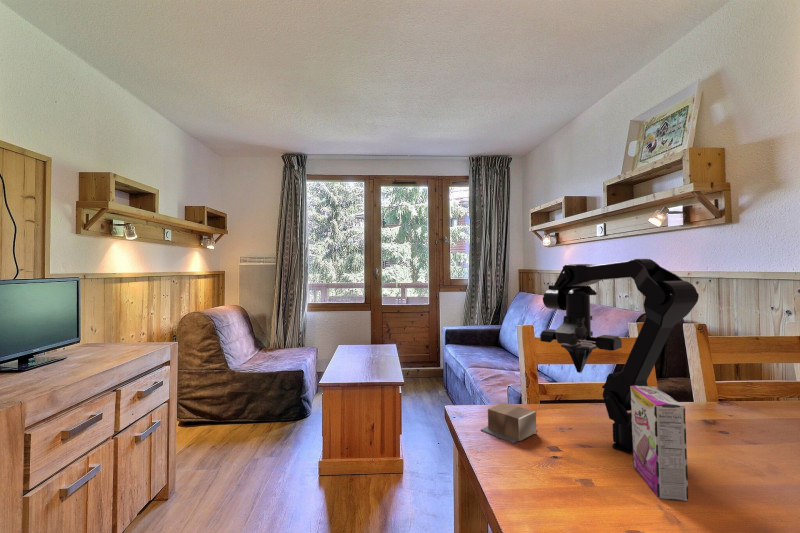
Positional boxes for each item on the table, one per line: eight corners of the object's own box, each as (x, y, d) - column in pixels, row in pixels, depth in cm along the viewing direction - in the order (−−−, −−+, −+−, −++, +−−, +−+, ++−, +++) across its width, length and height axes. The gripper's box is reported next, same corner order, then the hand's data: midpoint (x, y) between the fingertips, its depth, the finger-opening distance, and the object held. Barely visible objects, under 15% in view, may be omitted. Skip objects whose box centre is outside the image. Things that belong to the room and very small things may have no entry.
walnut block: (535, 411, 92) (504, 402, 99) (519, 419, 88) (487, 408, 94) (536, 432, 92) (504, 421, 99) (520, 440, 87) (488, 429, 94)
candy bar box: (631, 467, 76) (628, 384, 76) (659, 469, 75) (656, 385, 75) (657, 500, 65) (654, 403, 65) (690, 503, 64) (687, 405, 64)
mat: (537, 430, 94) (537, 429, 94) (514, 443, 87) (514, 441, 87) (504, 420, 101) (504, 418, 101) (480, 430, 94) (480, 429, 94)
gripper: (528, 312, 100) (530, 371, 100) (603, 317, 86) (605, 386, 86) (549, 309, 108) (551, 364, 107) (621, 313, 94) (623, 377, 93)
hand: (579, 372), depth 98 cm, fingers closed
